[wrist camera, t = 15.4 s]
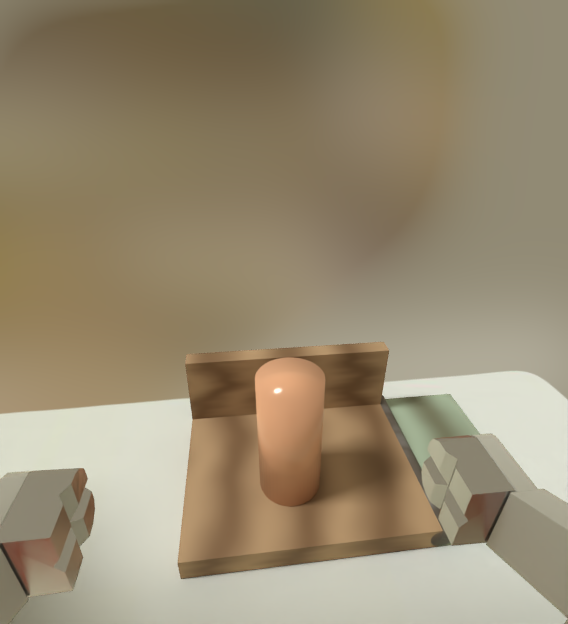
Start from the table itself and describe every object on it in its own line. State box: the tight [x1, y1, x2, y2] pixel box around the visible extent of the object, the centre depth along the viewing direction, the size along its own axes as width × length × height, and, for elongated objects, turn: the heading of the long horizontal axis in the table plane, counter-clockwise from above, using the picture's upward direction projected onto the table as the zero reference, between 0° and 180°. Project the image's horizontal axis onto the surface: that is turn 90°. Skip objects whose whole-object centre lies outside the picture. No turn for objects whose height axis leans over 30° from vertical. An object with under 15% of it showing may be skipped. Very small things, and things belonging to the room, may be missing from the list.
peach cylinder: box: [255, 357, 325, 506], centre depth 32 cm, size 5×5×11 cm
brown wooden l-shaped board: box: [178, 342, 480, 579], centre depth 36 cm, size 29×16×9 cm, turn 97°
